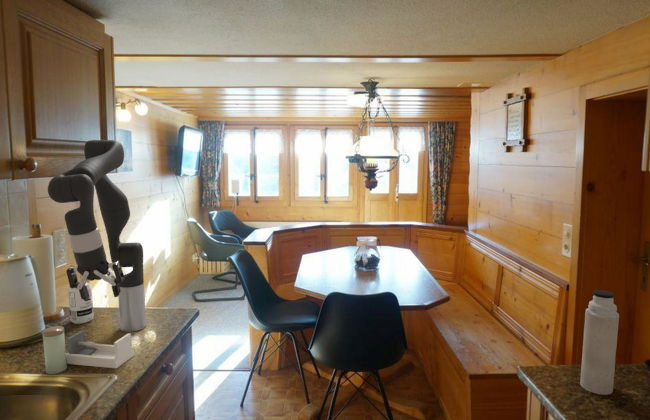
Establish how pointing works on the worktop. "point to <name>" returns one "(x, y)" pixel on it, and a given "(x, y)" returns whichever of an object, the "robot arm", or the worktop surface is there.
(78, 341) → the pusher
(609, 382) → the thermos bottle
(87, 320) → the supplement can
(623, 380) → the worktop surface
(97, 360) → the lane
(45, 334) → the jar
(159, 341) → the worktop surface
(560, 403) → the worktop surface
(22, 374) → the worktop surface
